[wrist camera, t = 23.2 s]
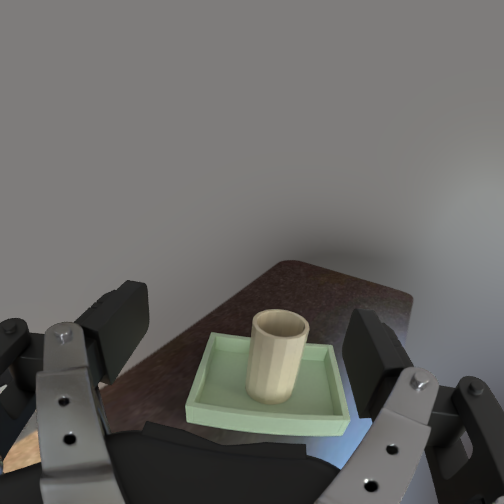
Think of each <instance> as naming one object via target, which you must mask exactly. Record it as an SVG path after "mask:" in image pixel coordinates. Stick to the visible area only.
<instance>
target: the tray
mask: <svg viewBox="0 0 504 504" xmlns="http://www.w3.org/2000/svg"><path fill="white" fill-rule="evenodd" d="M250 340H251V338H250V337H242V336H234V335H227V334H220V333H213V332H211V335H210V338H209V340H208V343H207V346H206V349H205V351H204V354H203V357H202V360H201V363H200V365H199V368H198V371H197V374H196V377H195V379H194V382H193V385H192V388H191V391H190V393H189V396H188V399H187V402H186V405H185V408H186V419H187V422H189V423H194V424H199V425H205V426H211V427H217V428H223V429H230V430H237V431H245V432H254V433H264V434H276V435H293V436H342V435H343V433H344V431H345V430H346V428H347V426H348V424H349V422H350V416H349V412H348V407H347V403H346V399H345V395H344V390H343V386H342V382H341V378H340V374H339V370H338V366H337V362H336V358H335V354H334V351H333V347H332V345H322V344H309V343H306V345H305V349H304V353H303V357H302V361H301V365H300V369H299V373H298V377H297V380H296V384H295V388H294V390H293V393H292V396H291V397H290V398H289V399H288V400H287V401H285V402H283V403H280V404H275V405H268V404H263V403H259V402H257V401H255V400H254V399H252V398H251V397H250V396H249V395H248V394H247V392H246V389H245V382H246V373H247V365H248V357H249V349H250Z"/></svg>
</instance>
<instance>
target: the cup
mask: <svg viewBox="0 0 504 504" xmlns="http://www.w3.org/2000/svg"><path fill="white" fill-rule="evenodd" d="M308 332H309V325H308V322H307V321H306V320H305V319H304V318H303V317H301V316H300V315H298V314H296V313H293V312H290V311H287V310H279V309H272V310H265V311H262V312H259V313H258V314H256V315H255V316H254V317H253V323H252V332H251V340H250V349H249V357H248V365H247V373H246V382H245V389H246V392H247V394H248V395H249V396H250V397H251V398H252V399H254V400H255V401H257V402H259V403H263V404H268V405H275V404H280V403H283V402H285V401H287V400H288V399H289V398H290V397H291V396H292V393H293V390H294V388H295V384H296V380H297V377H298V373H299V369H300V365H301V361H302V357H303V353H304V349H305V345H306V341H307V336H308Z"/></svg>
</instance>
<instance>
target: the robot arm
mask: <svg viewBox="0 0 504 504" xmlns="http://www.w3.org/2000/svg"><path fill="white" fill-rule="evenodd" d="M148 327H149V305H148V290H147V285H146V284H145V283H141V282H136V281H130V280H127V281H126V282H124V283H123V284H122V285H121V286H120V287H119V288H118V289H117V290H113V291H111V292H108V293H106V294H104V295H103V296H102V297H101V298H99V299H98V300H97V302H95V303H94V304H93V305H92V306H91V308H88V310H86V311H85V312H84V313H83V314H82V315H81V316H80V317H79V318H78V319H77V320H76V321H75V322H74V323H72V322H62V323H57V324H55V325H53V326H51V327H50V328H49V329H47V331H46V332H45V334H38V333H29V329H28V326H27V323H26V322H25V321H24V320H23V319H20V318H11V319H7V320H5V321H3V322H1V323H0V504H400V502H401V500H402V498H403V496H404V494H405V492H406V490H407V488H408V486H409V484H410V481H411V479H412V477H413V475H414V473H415V470H416V468H417V466H418V463H419V461H420V459H421V456H422V454H423V451H425V454H426V458H427V461H428V464H429V468H430V472H431V475H432V479H433V483H434V487H435V491H436V495H437V499H438V503H439V504H504V412H503V410H502V408H501V406H500V405H499V403H498V401H497V400H496V398H495V396H494V395H493V393H492V392H491V390H490V388H489V387H488V386H487V384H486V383H485V382H483V381H482V380H481V379H479V378H476V377H473V376H466V377H463V378H462V379H461V380H460V381H459V383H458V385H457V386H456V388H452V387H446V386H440V385H439V383H438V380H437V378H436V377H435V376H434V375H433V374H432V373H431V372H429V371H427V370H425V369H423V368H419V367H414V366H413V364H412V362H411V360H410V358H409V357H408V355H407V353H406V351H405V350H404V348H403V347H402V344H401V343H400V341H399V340H398V338H397V336H396V334H395V332H394V331H393V330H392V329H391V328H390V327H389V326H387V325H386V324H385V323H381V321H380V320H379V318H378V316H377V315H376V313H375V311H374V310H368V309H354V311H353V313H352V315H351V319H350V322H349V326H348V329H347V332H346V336H345V339H344V342H343V347H342V356H343V360H344V364H345V367H346V371H347V374H348V378H349V381H350V385H351V388H352V392H353V396H354V400H355V403H356V407H357V411H358V415H359V418H371V419H372V423H373V424H372V425H371V427H370V429H369V430H368V432H367V433H366V435H365V436H364V438H363V439H362V441H361V443H360V444H359V445H358V447H357V448H356V450H355V451H354V453H353V454H352V456H351V457H350V458H349V460H348V461H347V463H346V464H345V465H344V467H343V468H342V469H341V470H340V469H339V468H337V467H336V466H334V465H332V464H330V463H328V462H326V461H324V460H322V459H319V458H316V457H313V456H309V455H306V444H287V443H271V442H263V443H253V444H241V445H220V444H217V443H214V442H212V441H209V440H207V439H204V438H202V437H199V436H197V435H194V434H192V433H190V432H187V431H185V430H182V429H177V428H173V427H169V426H165V425H161V424H157V423H153V422H149V421H146V423H145V425H144V427H143V430H142V431H140V430H131V431H121V432H116V433H112V432H111V429H110V426H109V423H108V420H107V416H106V413H105V409H104V406H103V402H102V398H101V394H100V390H99V387H98V383H99V382H103V383H105V384H109V385H112V384H113V382H114V381H115V379H116V377H117V376H118V374H119V373H120V371H121V370H122V368H123V367H124V365H125V364H126V362H127V361H128V359H129V358H130V356H131V355H132V353H133V351H134V350H135V349H136V347H137V345H138V344H139V343H140V341H141V340H142V338H143V337H144V335H145V334H146V332H147V330H148ZM35 410H36V411H37V428H38V439H39V448H40V456H41V462H39V463H36V464H33V465H30V466H27V467H24V468H21V469H18V470H15V471H12V472H8V473H5V474H4V472H3V460H4V458H5V457H6V455H7V453H8V452H9V450H10V449H11V447H12V445H13V444H14V442H15V440H16V439H17V437H18V436H19V434H20V433H21V431H22V429H23V428H24V426H25V425H26V423H27V422H28V420H29V419H30V417H31V416H32V414H33V413H34V411H35ZM465 431H467V433H468V436H469V438H470V440H471V442H472V445H473V453H472V456H471V458H470V459H468V456H467V454H466V451H465V449H464V446H463V444H462V441H461V439H460V437H461V436H462V435H463V433H464V432H465Z"/></svg>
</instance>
